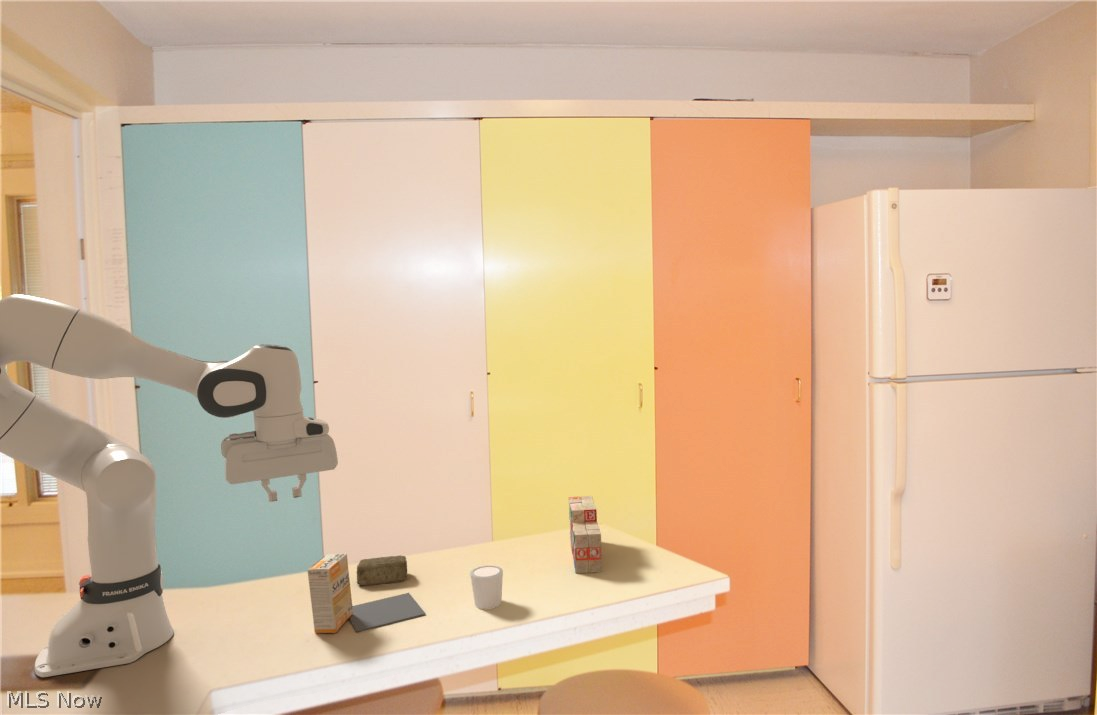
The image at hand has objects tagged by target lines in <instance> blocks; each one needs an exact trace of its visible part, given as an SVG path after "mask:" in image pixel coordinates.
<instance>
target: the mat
mask: <svg viewBox="0 0 1097 715" xmlns="http://www.w3.org/2000/svg"><path fill="white" fill-rule="evenodd" d="M352 607H353V614H352V615H351V616H350V617H349V618H348V619H349V621H350V624H352V625H351V626H353V629H354V631H355V632H356V633H359V632H360V633H361V632H364V631H368V630H372V629H376V628H380V627H384V626H387V625H391V624H395V623H398V622H399V623H400V622H404V621H407V620H411V619H414V618H419V617H423V616H426V612H425V611H424V610H423V608H422V607H421V605H420V604H419V603H418V602H417V601H416V599H414V597H413V596H412V595H411V593H410V592H406V593H402V594H397V595H392V596H390V597H386V598H381V599H380V598H379V599H377V600H373V601H368V602H364V603H359V604H355V605H352Z"/></svg>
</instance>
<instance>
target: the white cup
mask: <svg viewBox="0 0 1097 715" xmlns="http://www.w3.org/2000/svg"><path fill="white" fill-rule="evenodd" d="M503 571H504V570H503V568H501V567H499V566H496V565H482V566H478V567H475V568H474V569H472V570H471V571H470V572H469V575H470V582H471V588H472V594H473V595H472V596H473V601H474V606H475V608H477V609H480V610H491V609H492V608H493V609H495V607H496V608H497V607H500V606H501V605H502V599H503V576H504V572H503ZM493 609H492V610H493Z"/></svg>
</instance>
